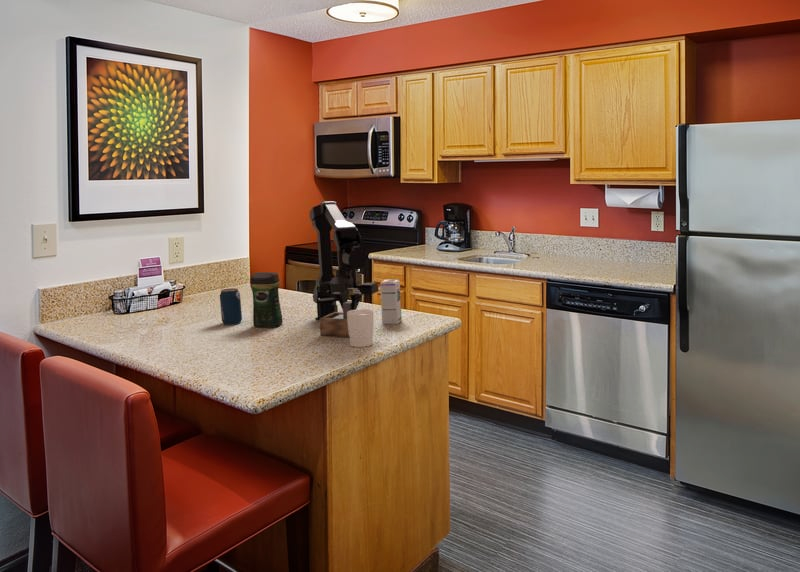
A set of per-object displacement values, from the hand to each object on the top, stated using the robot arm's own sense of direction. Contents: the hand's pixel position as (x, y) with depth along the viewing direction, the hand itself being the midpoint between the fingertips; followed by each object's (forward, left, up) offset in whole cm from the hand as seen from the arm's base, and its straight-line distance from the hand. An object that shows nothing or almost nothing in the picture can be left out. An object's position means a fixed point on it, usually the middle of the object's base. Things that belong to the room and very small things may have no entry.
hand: (349, 314), depth 195 cm
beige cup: (+9, -11, -6) cm, 16 cm away
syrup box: (+7, +18, -6) cm, 20 cm away
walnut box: (-2, 0, -6) cm, 7 cm away
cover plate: (0, 0, -2) cm, 2 cm away
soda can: (-48, +3, -6) cm, 49 cm away
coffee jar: (-33, +3, -6) cm, 34 cm away
